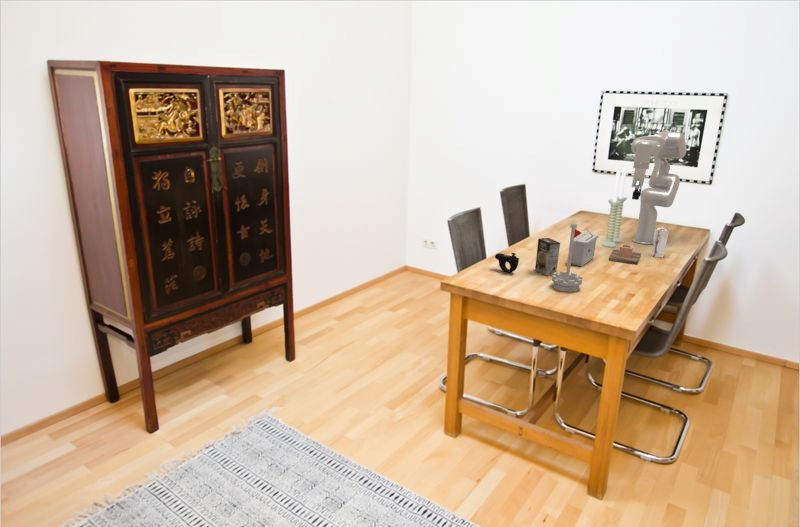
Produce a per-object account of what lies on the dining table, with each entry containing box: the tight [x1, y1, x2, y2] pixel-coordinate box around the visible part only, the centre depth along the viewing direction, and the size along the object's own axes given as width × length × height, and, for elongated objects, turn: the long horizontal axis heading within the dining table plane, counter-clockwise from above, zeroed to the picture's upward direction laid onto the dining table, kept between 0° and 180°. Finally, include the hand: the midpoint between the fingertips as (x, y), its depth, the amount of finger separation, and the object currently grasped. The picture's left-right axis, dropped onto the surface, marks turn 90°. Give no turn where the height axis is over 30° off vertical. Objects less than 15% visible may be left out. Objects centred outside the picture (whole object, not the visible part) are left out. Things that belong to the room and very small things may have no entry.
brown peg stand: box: [608, 244, 642, 266], centre depth 292 cm, size 18×14×8 cm
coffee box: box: [534, 237, 561, 277], centre depth 265 cm, size 9×6×16 cm
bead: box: [618, 244, 634, 258], centre depth 292 cm, size 6×6×5 cm
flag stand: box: [551, 222, 584, 293], centre depth 244 cm, size 13×13×30 cm
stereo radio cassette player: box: [571, 227, 599, 267], centre depth 283 cm, size 21×8×20 cm, turn 145°
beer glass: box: [651, 227, 670, 258], centre depth 296 cm, size 7×7×15 cm
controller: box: [494, 252, 520, 274], centre depth 266 cm, size 4×12×10 cm, turn 46°
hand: (636, 197), depth 295 cm, fingers open, 9 cm apart
